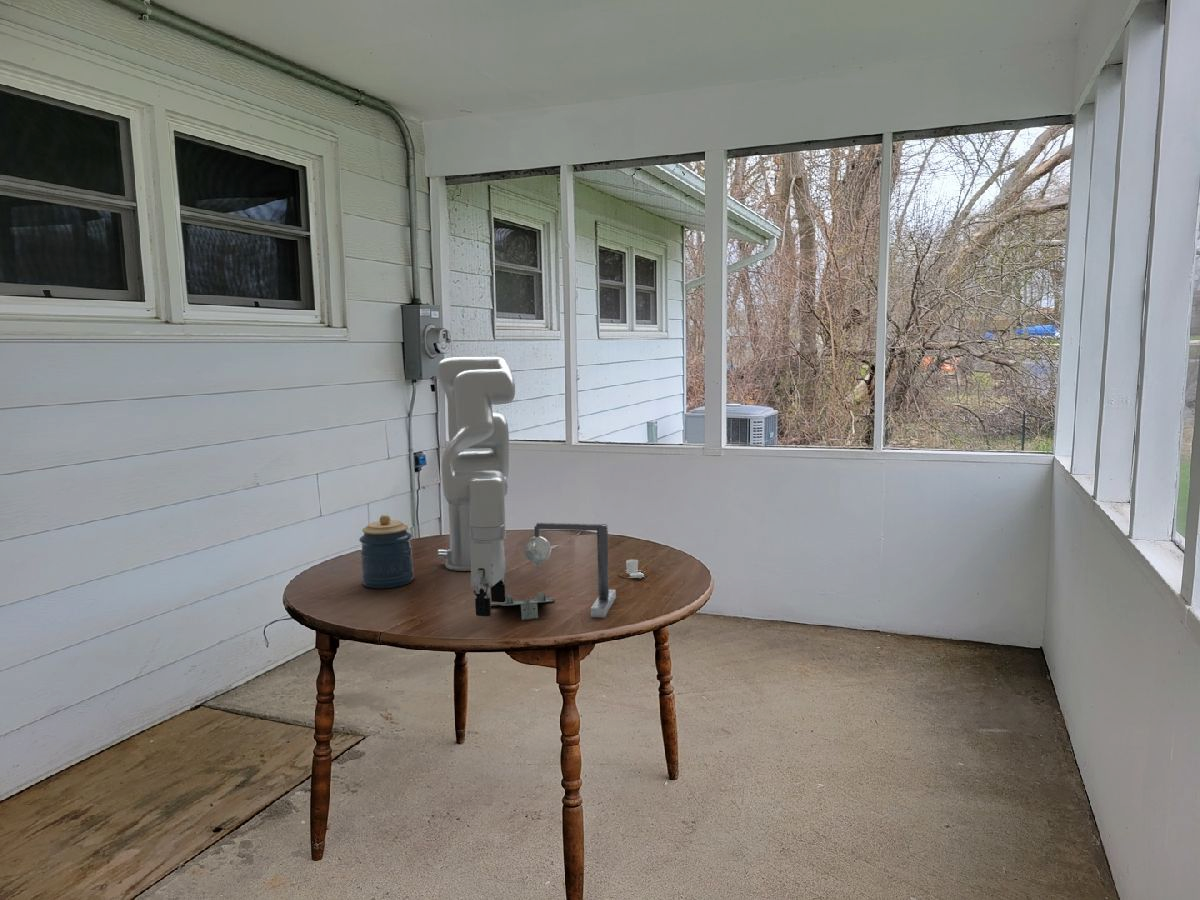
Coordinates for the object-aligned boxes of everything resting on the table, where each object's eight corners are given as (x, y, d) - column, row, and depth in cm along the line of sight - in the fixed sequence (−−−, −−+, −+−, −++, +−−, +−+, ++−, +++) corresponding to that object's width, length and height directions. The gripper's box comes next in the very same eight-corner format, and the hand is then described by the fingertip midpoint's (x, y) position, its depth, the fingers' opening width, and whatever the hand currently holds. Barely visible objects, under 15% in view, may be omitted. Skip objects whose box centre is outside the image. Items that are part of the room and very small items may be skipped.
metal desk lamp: (517, 613, 174) (515, 529, 172) (535, 594, 188) (533, 516, 186) (604, 617, 170) (602, 532, 168) (615, 598, 184) (614, 518, 182)
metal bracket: (562, 591, 172) (494, 597, 169) (564, 618, 171) (496, 624, 168) (551, 591, 186) (488, 596, 182) (553, 615, 185) (490, 622, 181)
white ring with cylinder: (645, 582, 198) (644, 566, 198) (614, 580, 200) (614, 565, 199) (650, 572, 207) (649, 557, 206) (620, 571, 208) (620, 556, 208)
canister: (421, 583, 199) (417, 515, 197) (370, 592, 192) (366, 522, 190) (404, 572, 210) (401, 507, 208) (355, 580, 203) (352, 513, 201)
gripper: (485, 523, 179) (488, 596, 181) (456, 541, 162) (460, 620, 164) (516, 524, 178) (519, 597, 180) (491, 542, 161) (494, 622, 163)
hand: (491, 608), depth 172 cm, fingers open, 9 cm apart
